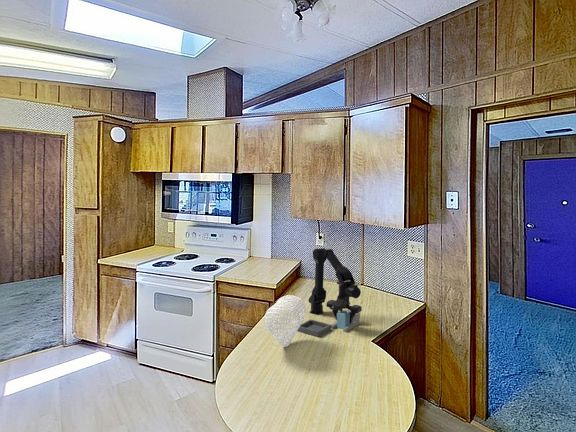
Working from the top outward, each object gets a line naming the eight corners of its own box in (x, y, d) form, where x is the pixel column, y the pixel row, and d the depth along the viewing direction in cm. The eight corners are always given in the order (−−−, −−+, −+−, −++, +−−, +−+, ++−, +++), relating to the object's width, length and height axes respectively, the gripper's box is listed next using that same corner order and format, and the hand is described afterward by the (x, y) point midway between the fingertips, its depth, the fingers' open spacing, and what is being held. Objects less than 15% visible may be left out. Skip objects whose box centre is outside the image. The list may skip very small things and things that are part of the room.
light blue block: (336, 327, 187) (336, 311, 186) (341, 324, 191) (342, 308, 191) (344, 329, 184) (345, 313, 183) (349, 326, 188) (350, 310, 188)
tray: (296, 331, 181) (297, 326, 181) (310, 323, 191) (310, 319, 191) (318, 337, 173) (318, 332, 173) (330, 329, 184) (330, 324, 183)
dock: (330, 328, 185) (330, 315, 185) (345, 319, 200) (346, 306, 199) (345, 332, 180) (346, 318, 180) (360, 322, 194) (360, 310, 194)
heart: (278, 333, 178) (279, 290, 177) (308, 336, 173) (308, 293, 172) (259, 357, 151) (260, 307, 150) (293, 362, 147) (294, 310, 145)
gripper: (321, 293, 186) (321, 322, 186) (353, 300, 174) (352, 330, 175) (331, 289, 195) (331, 316, 195) (362, 295, 183) (361, 324, 184)
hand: (343, 321), depth 187 cm, fingers open, 8 cm apart
